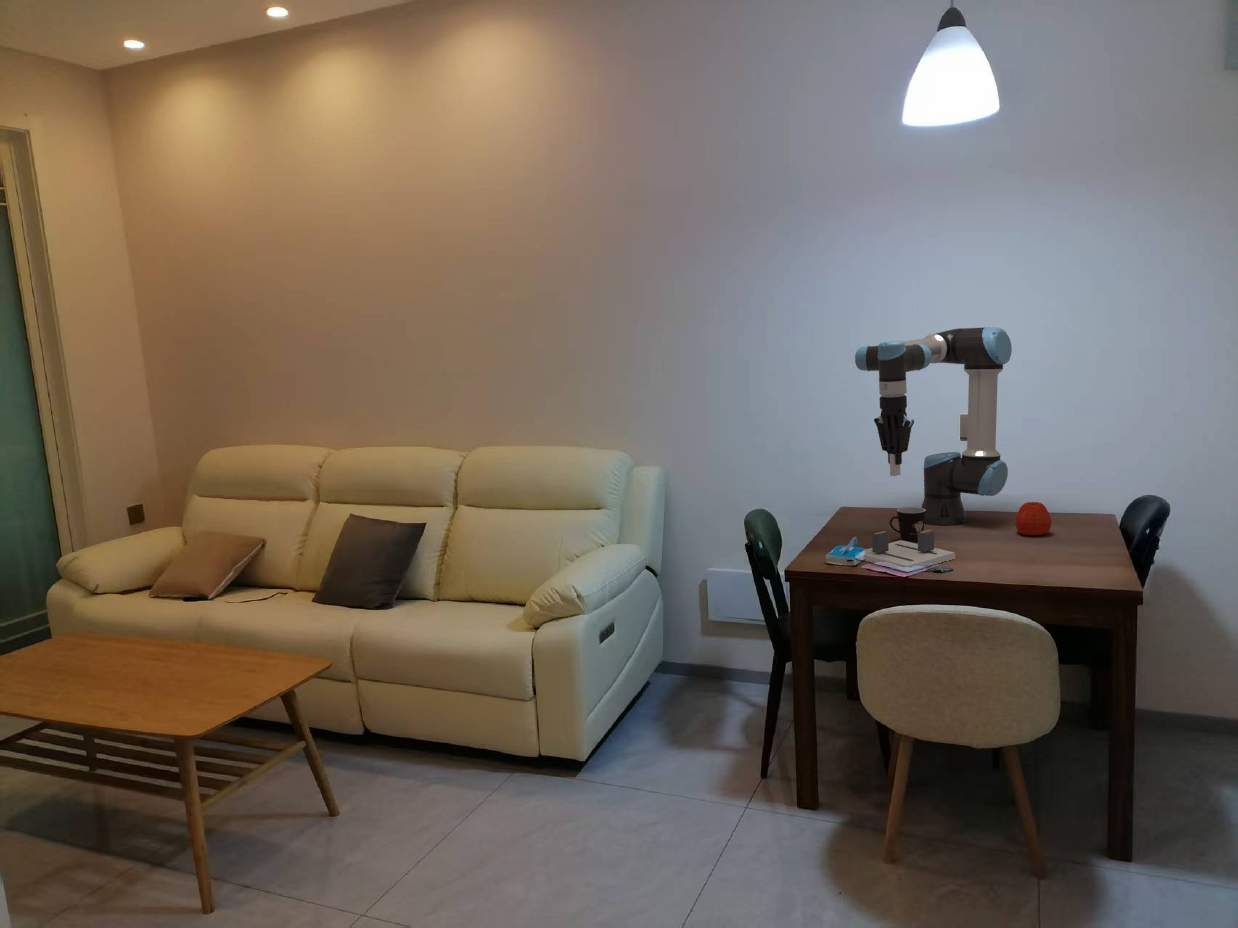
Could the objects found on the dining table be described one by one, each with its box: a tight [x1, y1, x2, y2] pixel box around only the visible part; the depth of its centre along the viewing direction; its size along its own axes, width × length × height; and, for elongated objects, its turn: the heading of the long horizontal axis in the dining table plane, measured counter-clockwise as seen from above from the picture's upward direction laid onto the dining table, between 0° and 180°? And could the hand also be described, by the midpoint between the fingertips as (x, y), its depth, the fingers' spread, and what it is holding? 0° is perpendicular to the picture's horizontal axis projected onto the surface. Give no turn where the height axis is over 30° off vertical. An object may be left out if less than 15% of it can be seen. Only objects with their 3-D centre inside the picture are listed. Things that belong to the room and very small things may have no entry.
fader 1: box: [871, 530, 889, 553], centre depth 259 cm, size 4×2×6 cm, turn 121°
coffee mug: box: [889, 506, 926, 544], centre depth 277 cm, size 12×9×10 cm
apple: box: [1014, 501, 1052, 536], centre depth 275 cm, size 10×10×10 cm
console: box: [863, 539, 956, 567], centre depth 258 cm, size 20×20×2 cm
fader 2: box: [917, 529, 935, 552], centre depth 257 cm, size 4×2×6 cm, turn 121°
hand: (895, 475), depth 258 cm, fingers closed
